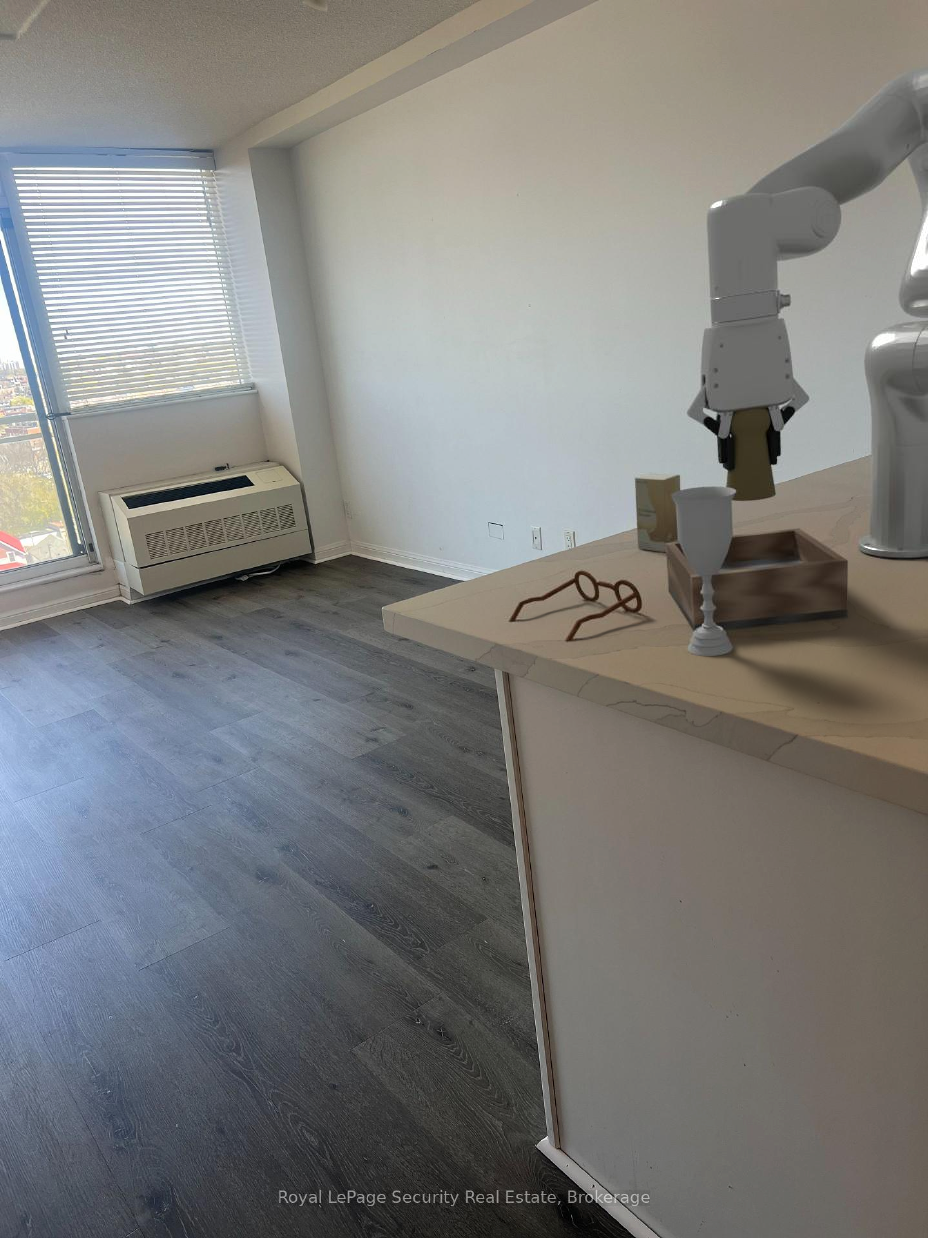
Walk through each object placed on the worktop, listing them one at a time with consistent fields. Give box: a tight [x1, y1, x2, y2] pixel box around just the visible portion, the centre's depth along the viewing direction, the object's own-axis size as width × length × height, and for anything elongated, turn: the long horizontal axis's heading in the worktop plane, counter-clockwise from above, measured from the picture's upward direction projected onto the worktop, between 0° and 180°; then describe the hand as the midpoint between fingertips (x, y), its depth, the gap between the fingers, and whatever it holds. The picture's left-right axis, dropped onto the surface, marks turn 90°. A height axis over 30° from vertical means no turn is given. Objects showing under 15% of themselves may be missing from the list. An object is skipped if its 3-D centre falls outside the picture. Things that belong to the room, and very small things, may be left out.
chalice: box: [671, 486, 736, 657], centre depth 98 cm, size 7×7×18 cm
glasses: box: [508, 569, 643, 642], centre depth 117 cm, size 13×13×5 cm
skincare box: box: [634, 472, 681, 553], centre depth 145 cm, size 6×4×12 cm
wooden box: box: [665, 527, 849, 632], centre depth 113 cm, size 18×18×7 cm
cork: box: [725, 407, 777, 502], centre depth 108 cm, size 6×6×11 cm
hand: (749, 464), depth 108 cm, fingers closed on cork, 4 cm apart
